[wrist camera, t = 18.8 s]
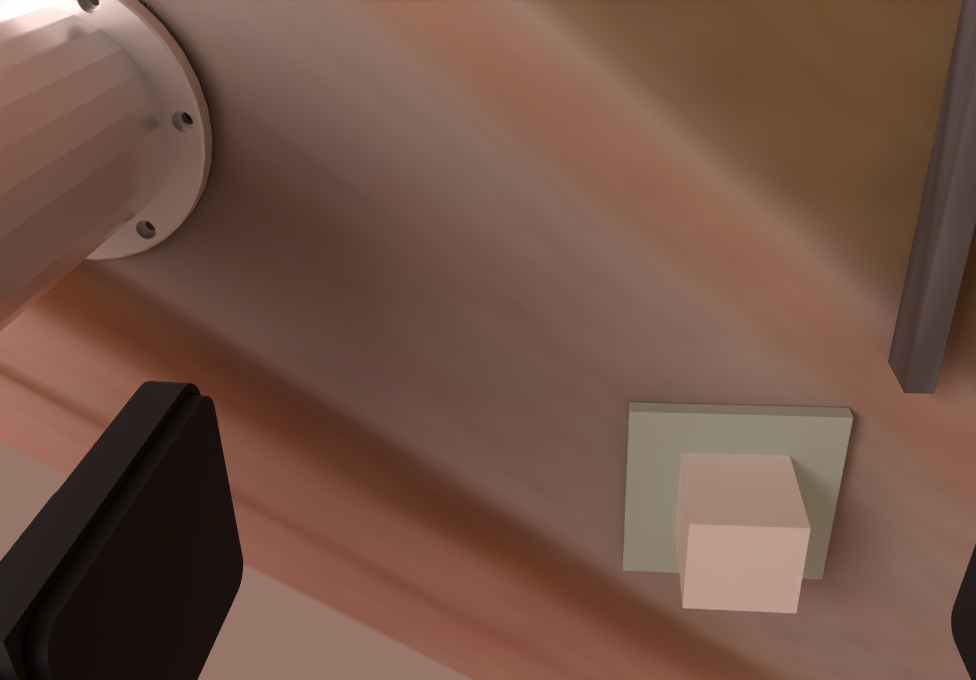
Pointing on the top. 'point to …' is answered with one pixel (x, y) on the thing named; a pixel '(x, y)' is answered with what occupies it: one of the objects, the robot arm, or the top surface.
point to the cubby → (941, 225)
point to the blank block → (740, 532)
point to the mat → (727, 430)
